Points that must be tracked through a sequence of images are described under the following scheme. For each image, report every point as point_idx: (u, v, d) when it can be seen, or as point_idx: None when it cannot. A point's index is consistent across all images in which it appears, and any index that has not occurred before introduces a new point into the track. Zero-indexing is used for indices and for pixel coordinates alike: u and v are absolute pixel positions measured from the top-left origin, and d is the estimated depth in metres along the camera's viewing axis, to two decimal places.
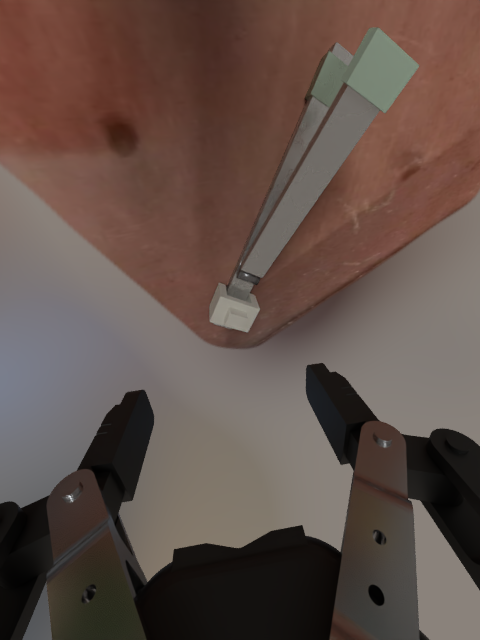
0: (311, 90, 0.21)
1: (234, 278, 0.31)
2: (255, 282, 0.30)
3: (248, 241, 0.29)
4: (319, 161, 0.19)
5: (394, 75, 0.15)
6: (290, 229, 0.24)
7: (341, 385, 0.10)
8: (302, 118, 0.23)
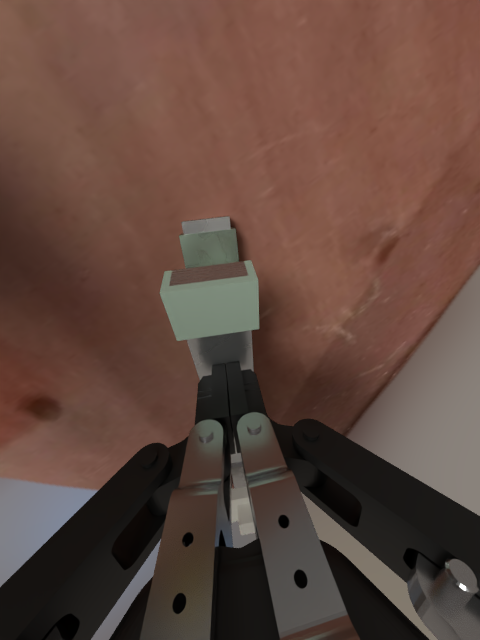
0: None
1: None
2: None
3: None
4: None
5: (232, 304, 0.09)
6: None
7: (249, 381, 0.11)
8: None
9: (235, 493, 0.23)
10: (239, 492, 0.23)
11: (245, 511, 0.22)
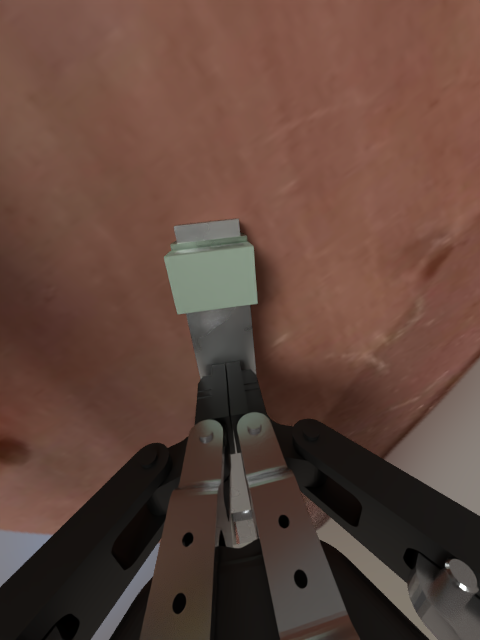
0: None
1: None
2: None
3: None
4: None
5: (230, 272, 0.10)
6: None
7: (249, 381, 0.11)
8: None
9: None
10: None
11: None
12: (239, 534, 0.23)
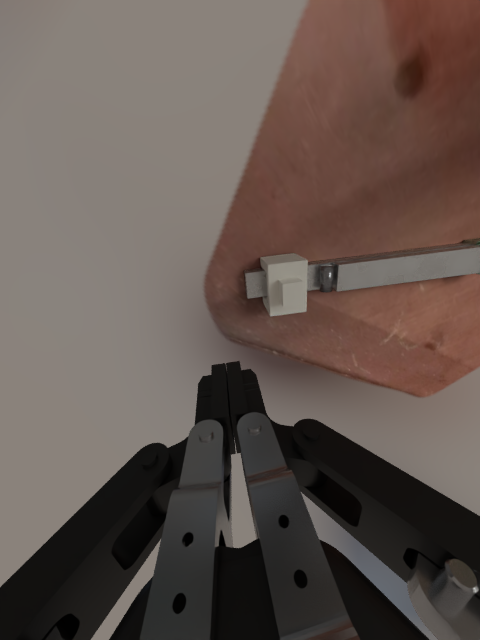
0: (477, 241, 0.27)
1: (313, 266, 0.26)
2: (326, 289, 0.26)
3: (354, 258, 0.27)
4: (451, 261, 0.26)
5: None
6: (397, 278, 0.26)
7: (249, 381, 0.11)
8: (459, 245, 0.27)
9: None
10: None
11: None
12: None
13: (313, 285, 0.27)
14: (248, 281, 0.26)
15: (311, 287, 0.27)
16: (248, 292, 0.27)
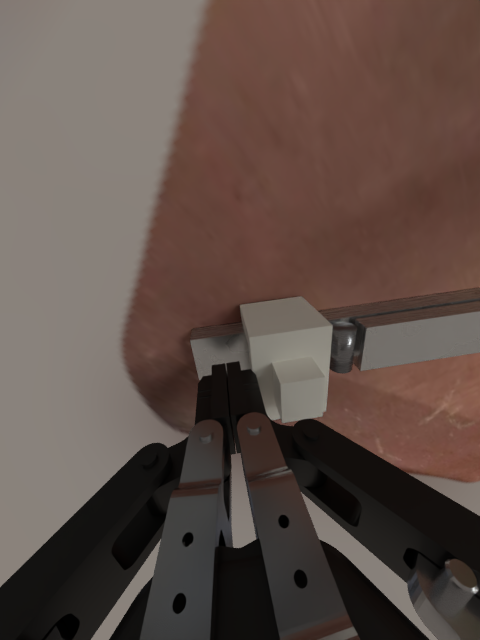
0: None
1: None
2: (342, 368, 0.14)
3: (390, 308, 0.15)
4: None
5: None
6: (470, 346, 0.14)
7: (249, 381, 0.11)
8: None
9: None
10: None
11: None
12: (237, 335, 0.14)
13: None
14: (197, 353, 0.14)
15: None
16: (199, 370, 0.15)
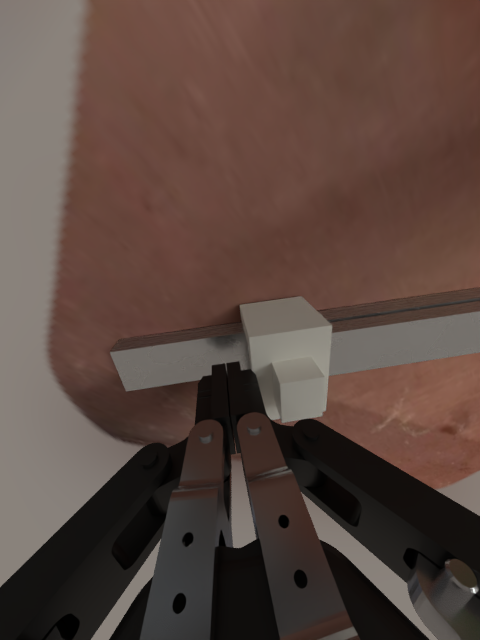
0: None
1: (241, 335, 0.14)
2: None
3: None
4: None
5: None
6: (398, 357, 0.14)
7: (249, 381, 0.11)
8: None
9: None
10: None
11: None
12: (159, 347, 0.14)
13: (246, 365, 0.15)
14: (119, 365, 0.14)
15: (243, 369, 0.15)
16: (124, 382, 0.14)
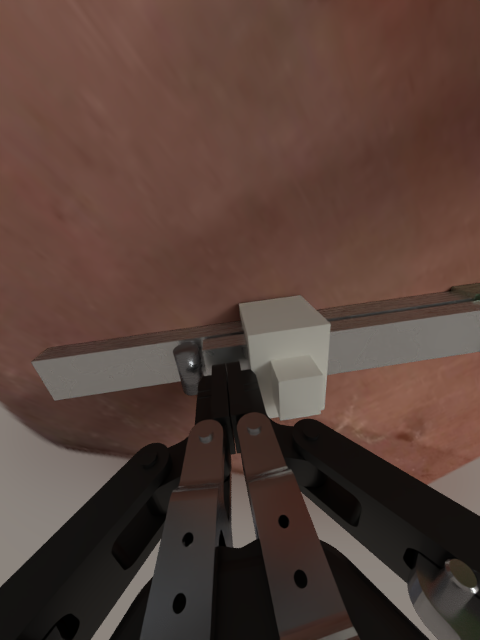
0: (476, 292, 0.15)
1: (167, 344, 0.14)
2: (189, 390, 0.13)
3: None
4: (427, 335, 0.14)
5: None
6: None
7: (249, 381, 0.11)
8: (443, 300, 0.15)
9: None
10: None
11: None
12: (82, 356, 0.13)
13: (177, 374, 0.15)
14: (43, 374, 0.14)
15: (174, 378, 0.15)
16: (51, 391, 0.14)
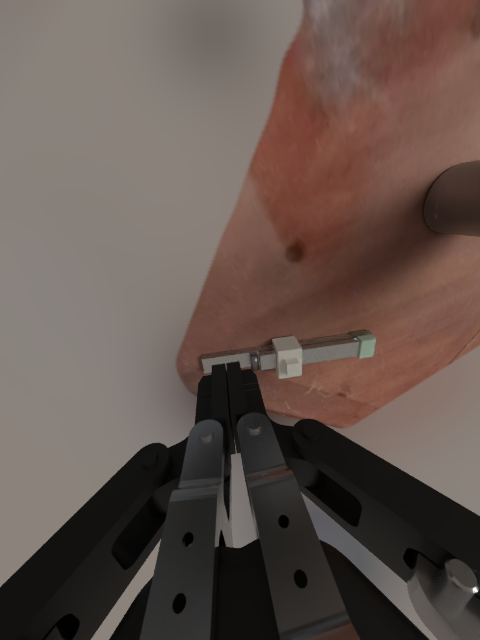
0: (355, 334, 0.41)
1: (246, 353, 0.40)
2: (254, 369, 0.40)
3: (273, 347, 0.41)
4: (335, 350, 0.40)
5: (368, 352, 0.40)
6: None
7: (249, 381, 0.11)
8: (343, 337, 0.41)
9: None
10: None
11: None
12: (218, 357, 0.40)
13: (248, 364, 0.41)
14: (204, 363, 0.40)
15: (246, 365, 0.41)
16: (204, 369, 0.41)
